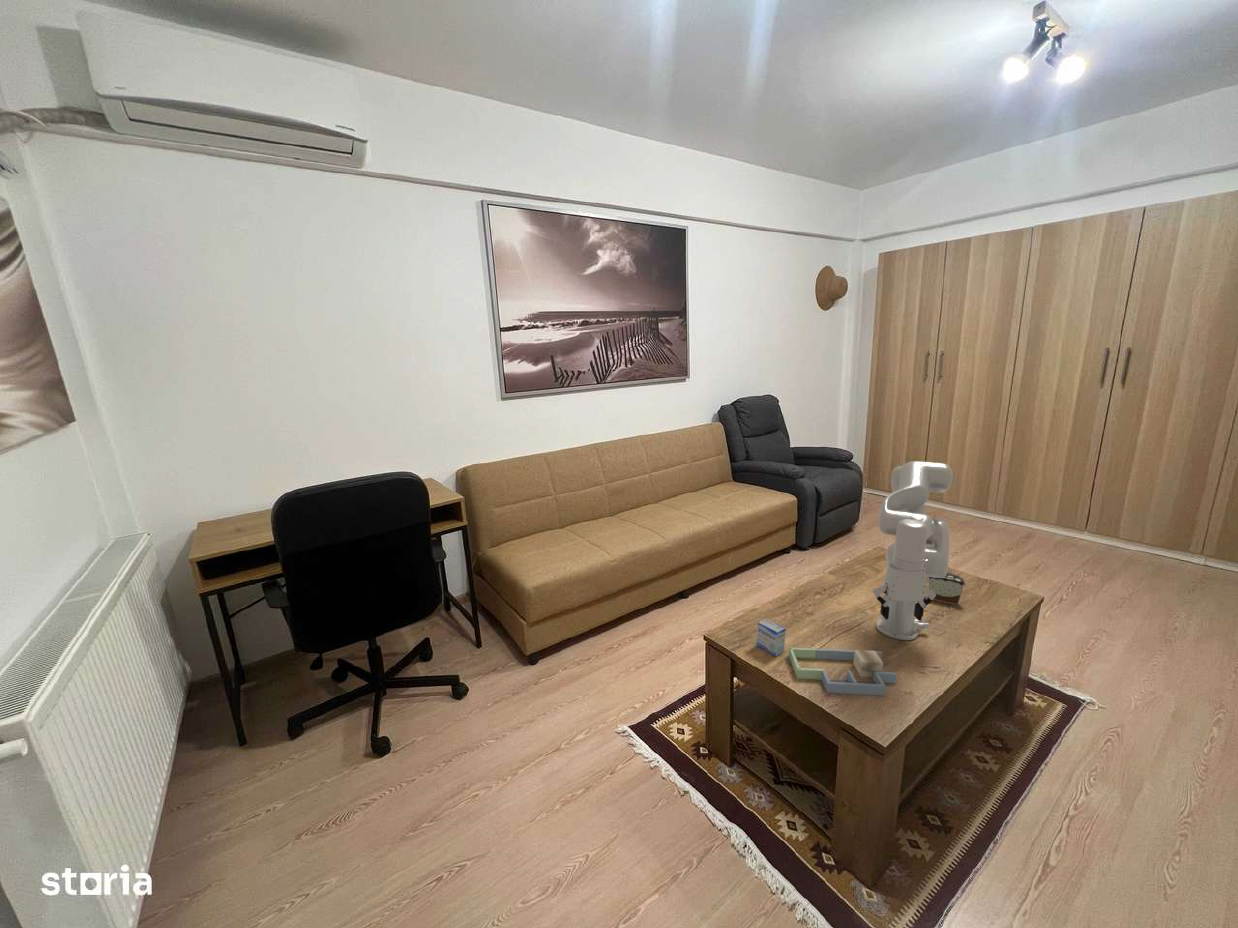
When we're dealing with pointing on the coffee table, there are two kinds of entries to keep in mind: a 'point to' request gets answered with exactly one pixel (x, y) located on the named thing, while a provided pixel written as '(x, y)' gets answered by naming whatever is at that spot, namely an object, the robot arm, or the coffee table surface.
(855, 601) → the coffee table surface
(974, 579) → the coffee table surface
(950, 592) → the food container
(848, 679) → the tray
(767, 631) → the medicine box
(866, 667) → the birch block
